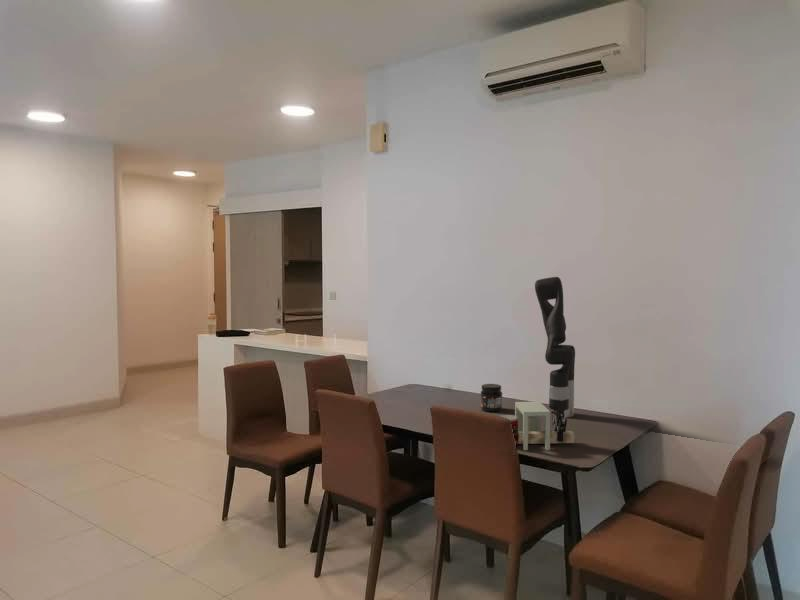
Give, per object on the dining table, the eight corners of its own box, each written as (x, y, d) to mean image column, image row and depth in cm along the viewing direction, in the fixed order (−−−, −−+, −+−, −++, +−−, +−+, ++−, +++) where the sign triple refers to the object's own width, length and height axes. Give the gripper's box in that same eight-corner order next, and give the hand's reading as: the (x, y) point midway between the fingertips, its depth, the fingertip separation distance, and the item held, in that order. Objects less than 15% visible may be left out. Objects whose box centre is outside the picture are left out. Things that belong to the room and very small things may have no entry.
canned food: (495, 441, 233) (495, 415, 232) (514, 440, 234) (514, 414, 233) (500, 447, 225) (500, 420, 225) (520, 446, 226) (520, 419, 225)
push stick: (518, 443, 228) (518, 433, 228) (516, 441, 231) (516, 431, 231) (574, 443, 228) (574, 433, 228) (571, 440, 231) (571, 430, 231)
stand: (515, 437, 238) (515, 401, 237) (539, 437, 238) (539, 401, 237) (523, 450, 222) (524, 412, 221) (549, 450, 222) (550, 411, 221)
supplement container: (482, 406, 290) (482, 382, 289) (503, 408, 287) (503, 384, 286) (478, 411, 280) (478, 387, 279) (500, 413, 277) (500, 388, 276)
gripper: (544, 393, 235) (544, 434, 237) (554, 401, 221) (554, 445, 223) (563, 392, 236) (563, 434, 237) (573, 400, 222) (573, 445, 223)
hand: (558, 439), depth 230 cm, fingers closed on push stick, 3 cm apart
